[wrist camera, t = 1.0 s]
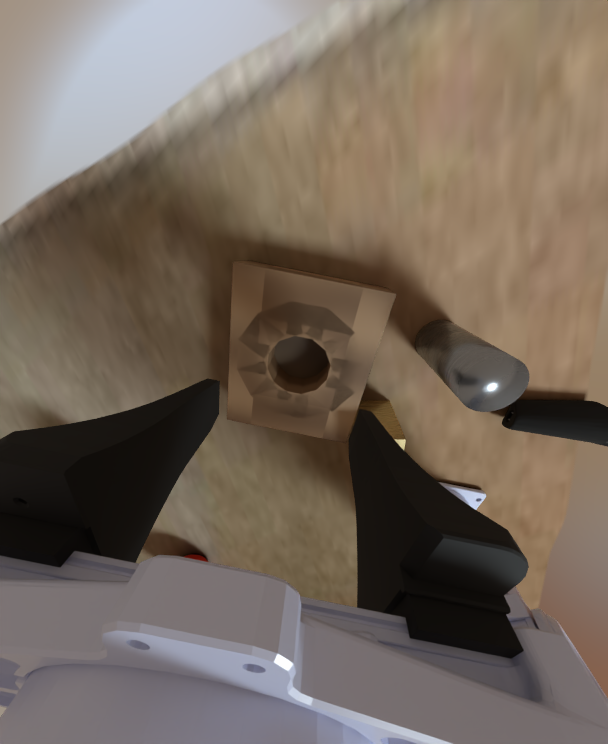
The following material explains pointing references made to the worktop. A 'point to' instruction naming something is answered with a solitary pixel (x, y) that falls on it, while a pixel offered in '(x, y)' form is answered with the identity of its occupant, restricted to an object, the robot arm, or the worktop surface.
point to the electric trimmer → (560, 419)
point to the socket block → (301, 348)
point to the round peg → (472, 366)
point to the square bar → (384, 418)
